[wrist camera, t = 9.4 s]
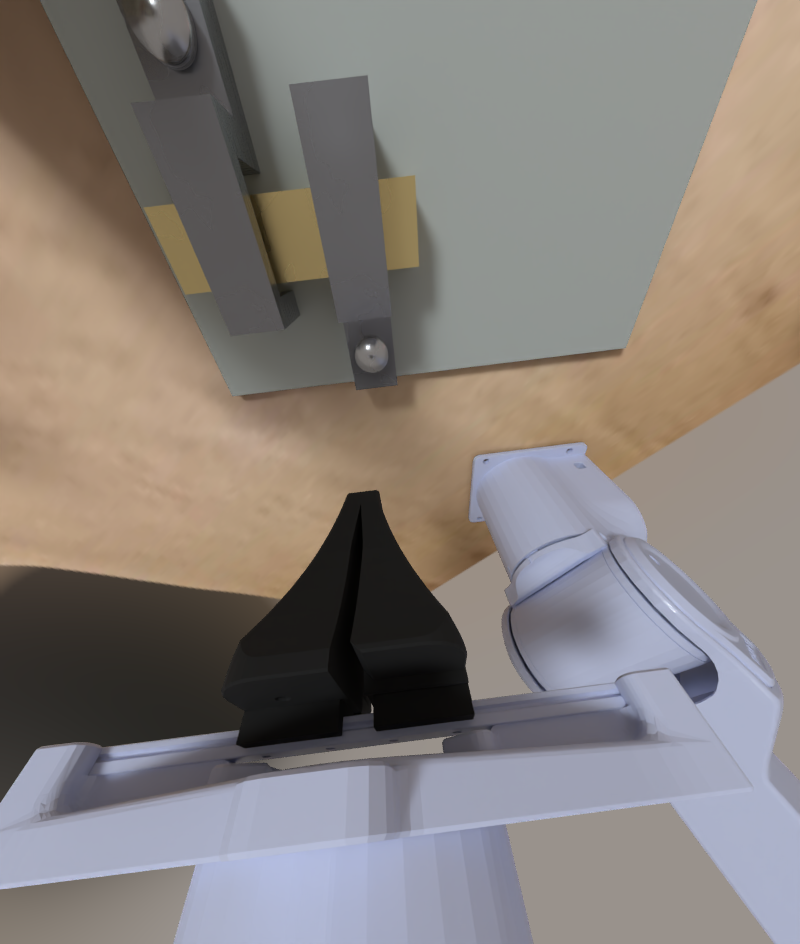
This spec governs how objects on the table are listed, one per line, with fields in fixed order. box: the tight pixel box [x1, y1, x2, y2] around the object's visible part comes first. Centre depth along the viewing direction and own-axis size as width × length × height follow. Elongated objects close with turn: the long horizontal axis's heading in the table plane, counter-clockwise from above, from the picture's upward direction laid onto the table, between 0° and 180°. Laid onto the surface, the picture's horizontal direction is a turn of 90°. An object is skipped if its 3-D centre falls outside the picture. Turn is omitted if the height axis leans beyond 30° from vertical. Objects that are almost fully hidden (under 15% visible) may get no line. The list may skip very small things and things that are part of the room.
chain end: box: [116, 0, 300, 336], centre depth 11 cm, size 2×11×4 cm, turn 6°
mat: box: [40, 0, 757, 396], centre depth 14 cm, size 26×15×1 cm, turn 96°
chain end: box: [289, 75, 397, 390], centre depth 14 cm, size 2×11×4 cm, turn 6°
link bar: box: [144, 175, 419, 295], centre depth 13 cm, size 11×3×2 cm, turn 96°
